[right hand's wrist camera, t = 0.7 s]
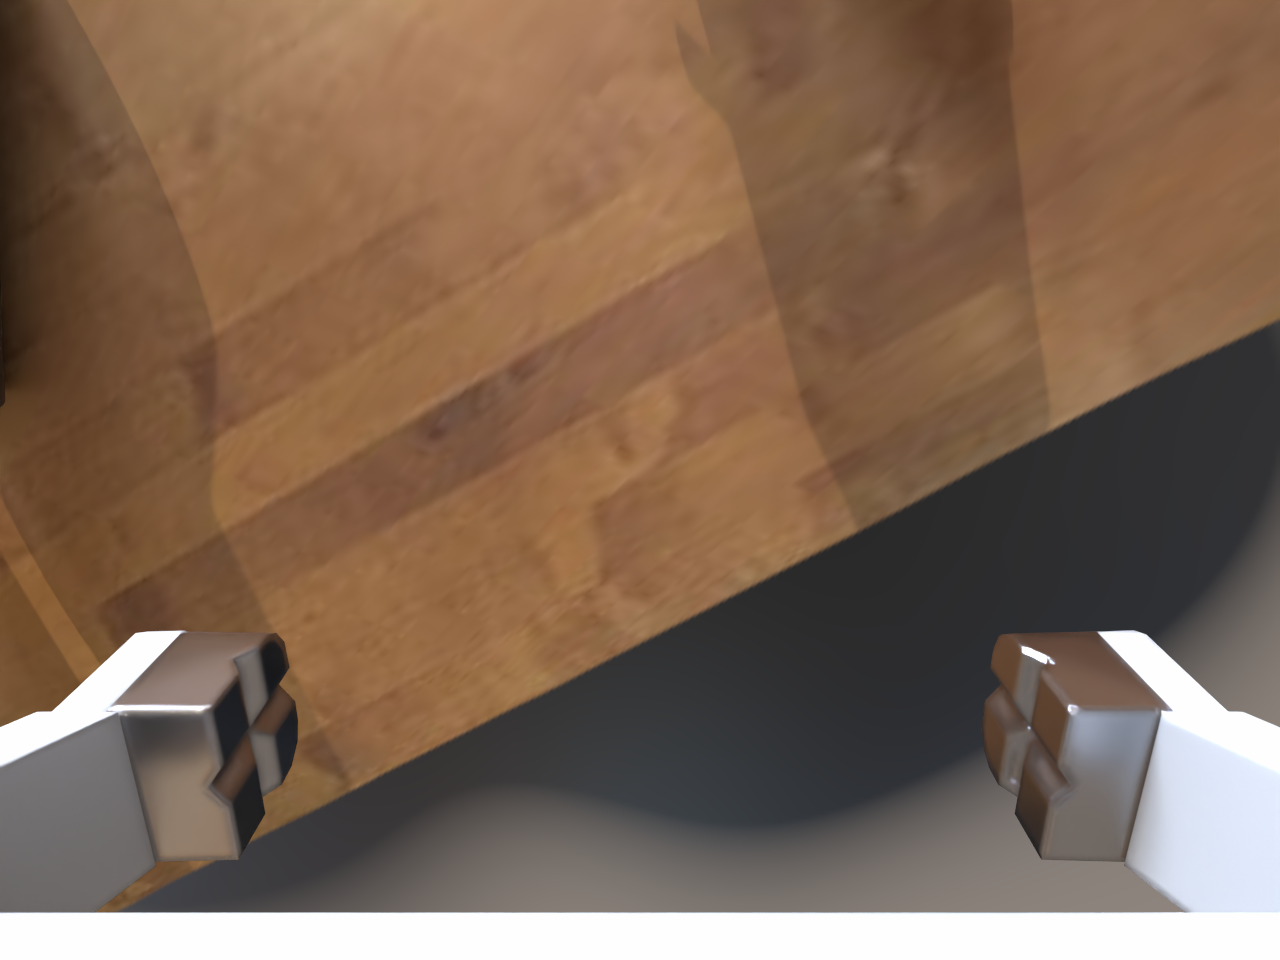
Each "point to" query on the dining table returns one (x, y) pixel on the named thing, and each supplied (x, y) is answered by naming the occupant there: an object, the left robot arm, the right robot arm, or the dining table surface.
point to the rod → (1, 360)
